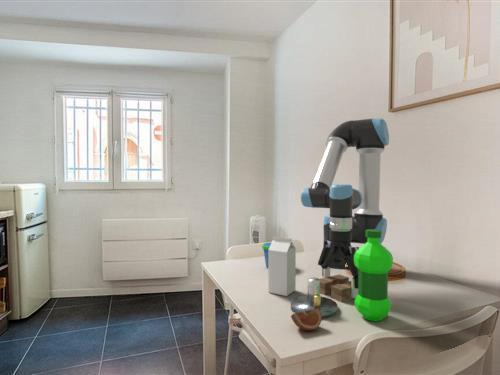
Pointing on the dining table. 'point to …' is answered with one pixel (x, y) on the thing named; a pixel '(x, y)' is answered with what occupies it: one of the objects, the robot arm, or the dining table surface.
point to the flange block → (336, 287)
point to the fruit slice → (307, 319)
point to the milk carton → (281, 266)
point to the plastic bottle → (373, 277)
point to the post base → (304, 306)
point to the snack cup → (266, 252)
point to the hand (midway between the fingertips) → (340, 291)
